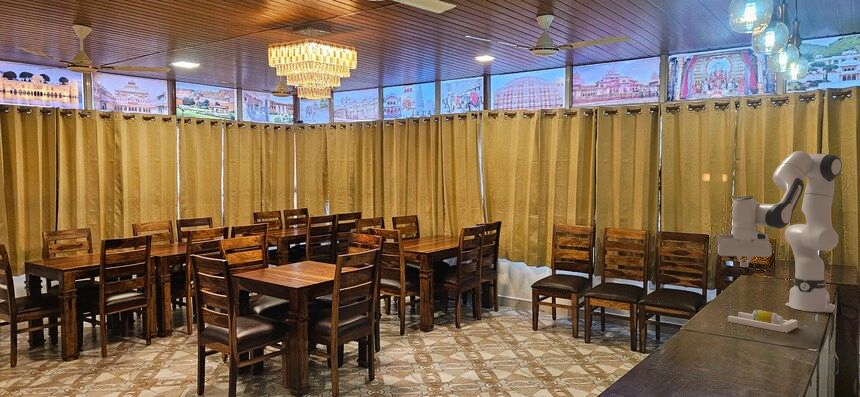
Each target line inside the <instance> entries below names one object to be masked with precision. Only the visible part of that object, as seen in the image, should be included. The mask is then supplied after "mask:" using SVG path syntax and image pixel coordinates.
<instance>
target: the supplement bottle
mask: <svg viewBox="0 0 860 397" xmlns="http://www.w3.org/2000/svg"><path fill="white" fill-rule="evenodd" d="M751 314H752V320H756V321H762V322H767V323H772V324H778V325H781V324H782V323H783V320H784V318H783V316H781V315H778V314H777V312H771V311H765V310H760V309H754V310H753V312H752V313H751Z"/></svg>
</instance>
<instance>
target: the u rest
mask: <svg viewBox="0 0 860 397" xmlns="http://www.w3.org/2000/svg"><path fill="white" fill-rule="evenodd" d="M752 314H753V313H749V312H748V313H747V312H741V311H739V312H737V316H733V315H728V316H727V322H729V323H733V324H734V323H735V324H739V325H744V326H749V327H754V328H759V329H765V330H770V331H774V332H775V331H776V332H781V333H784V332H785V334H787V333H790V332H791V331H793V330H795V329H796V328H798V320H797V319H792V318H791V319H789V320H787V319H783V323H782V324H781V325H778V324H772V323H767V322H762V321H756V320H752Z"/></svg>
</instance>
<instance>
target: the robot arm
mask: <svg viewBox="0 0 860 397" xmlns="http://www.w3.org/2000/svg"><path fill="white" fill-rule="evenodd" d="M842 167H843V164H842V161H841V159H840V157H839V156H837V155H833V154H825V153H807V152H805V151H803V150H796V151H793V152H791V153H790V154H789V155H787V156H786V157H785V158H784V159H783V160H782V161H781V162H780V163H779V165H778V166H777V167H776V169H775V170H774V172H773V174H772V181H773V183H774V185H775V186H776V187H777V188H778V189H779V190H782V191H784V192H785V193H784V194H783V196H782V198H781V200H780V201H779V202H777V203H762V202H759V201H757V200H756V199H755V198H754V196H751V195H746V196H739V197H736V198H735V199H734V200H733V203H732V209H731V210H732V213H731V214H732V216H731V217H732V220H733V221H732V222H733V223H732V230H731V232H732V233H731V234H730V233H729V234H725V233H723V234H720V235H718V236H717V238H716V243H717V254H718V255H719V256H721V257H736V258H737V260H738V261H739V266H740V268H741V267H742V268H745V267H746V268H749V263H750V262H751V260H752V257H758V258H761V257H762V258H763V257H765V258H767V257H768V258H770V257H771V256H772V255H773V252H772V251H773V250H772V244H771V241H769V240H768V239H769V238H770V237H769V235H768V234H767V233H764V232H762V231H759V230H758V231H757V227H756V226H761V227H770V228H773V229H779V230H780V229H784V228H785V227H787V226H788V225H789V223H790V222H791V220H792V216H793V213H794V211H795V208H796V207H797V204H798V202H799V201H800V198H801V196H802V194H803V191H804V194H803V199H802V205H801V212H802V213H803V214H804V216H805V219H806V223H795V224H791V225H789V226H788V227H787V228H786V229H785V231H784V238H785V240H786V241H787V243H788V244H789V245H790V248H791V249H792V254H793V256H794V262H795V263H794V266H795V267H794V268H795V271H794V273H795V274H794V277H793V287H792V286H791V288H790V289H789V297H788V298H789V299H788V302H786V303H785V306H787V307H789V308H792V309H794V310H799V311H804V312H811V313H833V312H834V310H835V309H836V304H832V303H831V301H830V294H829V292H828V290H827V289H826V284H827V283H826V282H827V280H826V278H825V262H824V260H823V259H822V258H821V257H820V255H819V253H818V251H830V250H833V249H834V248H836V247H837V245H838V244H839V234H838V232H836V230H835V229H834V227H833V224H832V218H831V217H832V216H831V210H832V205H833V201H834V200H833V199H834V195H835V178H837V177H838V176H839V175H840V173H841V171H842ZM804 179H808V180H807V184H806V186H805V184H804V181H803V180H804ZM804 187H805V189H804ZM742 257H746V259H747V260H746V261H742Z"/></svg>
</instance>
